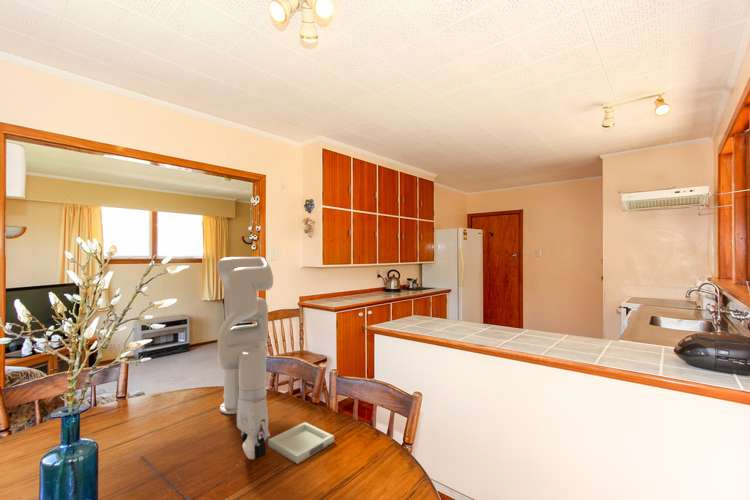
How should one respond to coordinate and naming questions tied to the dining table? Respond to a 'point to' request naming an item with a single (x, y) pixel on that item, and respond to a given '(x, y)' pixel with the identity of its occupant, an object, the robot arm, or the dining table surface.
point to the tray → (300, 442)
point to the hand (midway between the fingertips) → (253, 452)
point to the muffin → (250, 446)
